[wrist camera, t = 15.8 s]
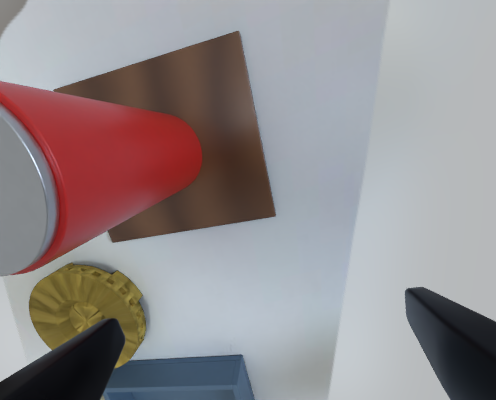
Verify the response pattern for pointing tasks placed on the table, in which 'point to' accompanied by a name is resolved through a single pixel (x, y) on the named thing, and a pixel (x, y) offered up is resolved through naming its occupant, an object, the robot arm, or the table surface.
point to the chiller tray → (181, 379)
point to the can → (81, 170)
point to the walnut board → (206, 129)
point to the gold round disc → (86, 306)
